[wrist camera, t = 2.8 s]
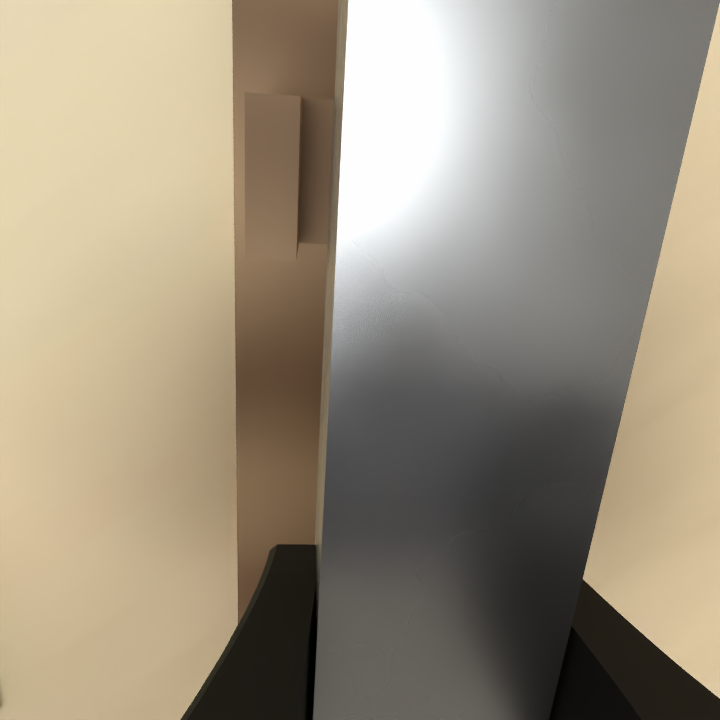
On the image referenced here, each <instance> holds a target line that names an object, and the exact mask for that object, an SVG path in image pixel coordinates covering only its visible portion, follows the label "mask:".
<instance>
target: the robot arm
mask: <svg viewBox="0 0 720 720" xmlns="http://www.w3.org/2000/svg"><path fill="white" fill-rule="evenodd" d="M316 583H317V573H316V545H309V544H277V545H276V546H274V547H273V548H272V549H271V550H270V551H269V555H268V559H267V562H266V565H265V568H264V570H263V573H262V576H261V578H260V581H259V583H258V585H257V588H256V590H255V592H254V594H253V596H252V598H251V600H250V603H249V605H248V607H247V609H246V611H245V613H244V615H243V616H242V618H241V620H240V622H239V624H238V626H237V628H236V630H235V631H234V633H233V635H232V637H231V639H230V641H229V643H228V645H227V646H226V648H225V650H224V652H223V653H222V655H221V657H220V658H219V660H218V662H217V663H216V665H215V666H214V668H213V670H212V671H211V673H210V675H209V676H208V678H207V679H206V681H205V683H204V684H203V686H202V687H201V689H200V691H199V692H198V694H197V696H196V697H195V699H194V700H193V702H192V703H191V705H190V706H189V708H188V709H187V711H186V712H185V714H184V715H183V717H182V718H181V720H310V711H311V690H312V668H313V647H314V626H315V604H316ZM549 720H720V699H719V698H718V697H717V696H715V695H714V694H713V693H712V692H711V691H709V690H708V689H707V688H706V687H704V686H703V685H702V684H701V683H699V682H698V681H697V680H696V679H695V678H693V677H692V676H691V675H690V674H688V673H687V672H686V671H685V670H683V669H682V668H681V667H680V666H679V665H678V664H676V663H675V662H674V661H673V660H672V659H670V658H669V657H668V656H667V655H666V654H665V653H663V652H662V651H661V650H660V649H659V648H658V647H657V646H655V645H654V644H653V643H652V642H651V641H650V640H649V639H647V638H646V637H645V636H644V635H643V634H642V633H641V632H640V631H638V630H637V629H636V628H635V627H634V626H633V625H632V624H631V623H629V622H628V621H627V620H626V619H625V618H624V617H623V616H622V615H621V614H620V613H618V612H617V611H616V610H615V609H614V608H613V607H612V606H611V605H610V604H609V603H608V602H607V601H605V600H604V599H603V598H602V597H601V596H600V595H599V594H598V593H597V592H596V591H595V590H594V589H593V588H591V587H590V586H589V585H588V584H587V583H586V582H585V581H584V580H583V579H582V583H581V587H580V592H579V596H578V600H577V604H576V608H575V613H574V617H573V621H572V625H571V629H570V634H569V638H568V642H567V646H566V650H565V655H564V659H563V663H562V667H561V672H560V676H559V680H558V684H557V688H556V693H555V697H554V701H553V705H552V709H551V714H550V718H549Z"/></svg>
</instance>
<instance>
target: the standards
mask: <svg viewBox="0 0 720 720" xmlns="http://www.w3.org/2000/svg"><path fill="white" fill-rule="evenodd" d="M338 3H339V0H232V21H233V124H234V228H235V332H236V436H237V540H238V624H239V622H240V620H241V618H242V616H243V615H244V613H245V611H246V609H247V607H248V605H249V603H250V600H251V598H252V596H253V594H254V592H255V590H256V588H257V585H258V583H259V581H260V578H261V576H262V573H263V570H264V568H265V565H266V562H267V559H268V555H269V551H270V550H271V549H272V548H273V547H274V546H276V545H277V544H309V545H314V544H315V521H316V499H317V476H318V454H319V431H320V408H321V386H322V363H323V341H324V318H325V296H326V273H327V251H328V228H329V206H330V183H331V161H332V138H333V116H334V93H335V70H336V48H337V25H338Z"/></svg>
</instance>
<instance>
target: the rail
mask: <svg viewBox="0 0 720 720" xmlns="http://www.w3.org/2000/svg"><path fill="white" fill-rule="evenodd" d="M719 3H720V0H339V3H338V25H337V48H336V70H335V93H334V116H333V138H332V161H331V183H330V206H329V228H328V251H327V273H326V296H325V318H324V341H323V363H322V386H321V408H320V431H319V454H318V476H317V499H316V521H315V544H314V545H316V573H317V583H316V604H315V626H314V647H313V668H312V690H311V711H310V720H549V718H550V714H551V709H552V705H553V701H554V697H555V693H556V688H557V684H558V680H559V676H560V672H561V667H562V663H563V659H564V655H565V650H566V646H567V642H568V638H569V634H570V629H571V625H572V621H573V617H574V613H575V608H576V604H577V600H578V596H579V592H580V587H581V583H582V579H583V575H584V571H585V566H586V562H587V558H588V554H589V550H590V545H591V541H592V537H593V533H594V529H595V524H596V520H597V516H598V512H599V507H600V503H601V499H602V495H603V491H604V486H605V482H606V478H607V474H608V470H609V465H610V461H611V457H612V453H613V449H614V444H615V440H616V436H617V432H618V428H619V423H620V419H621V415H622V411H623V407H624V402H625V398H626V394H627V390H628V386H629V381H630V377H631V373H632V369H633V364H634V360H635V356H636V352H637V348H638V343H639V339H640V335H641V331H642V327H643V322H644V318H645V314H646V310H647V306H648V301H649V297H650V293H651V289H652V285H653V280H654V276H655V272H656V268H657V264H658V259H659V255H660V251H661V247H662V242H663V238H664V234H665V230H666V226H667V221H668V217H669V213H670V209H671V205H672V200H673V196H674V192H675V188H676V184H677V179H678V175H679V171H680V167H681V163H682V158H683V154H684V150H685V146H686V142H687V137H688V133H689V129H690V125H691V121H692V116H693V112H694V108H695V104H696V99H697V95H698V91H699V87H700V83H701V78H702V74H703V70H704V66H705V62H706V57H707V53H708V49H709V45H710V41H711V36H712V32H713V28H714V24H715V20H716V15H717V11H718V7H719Z"/></svg>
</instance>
